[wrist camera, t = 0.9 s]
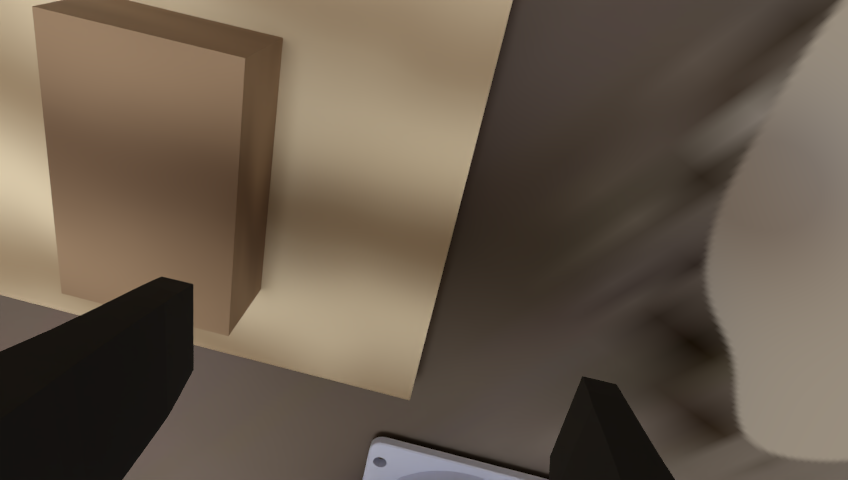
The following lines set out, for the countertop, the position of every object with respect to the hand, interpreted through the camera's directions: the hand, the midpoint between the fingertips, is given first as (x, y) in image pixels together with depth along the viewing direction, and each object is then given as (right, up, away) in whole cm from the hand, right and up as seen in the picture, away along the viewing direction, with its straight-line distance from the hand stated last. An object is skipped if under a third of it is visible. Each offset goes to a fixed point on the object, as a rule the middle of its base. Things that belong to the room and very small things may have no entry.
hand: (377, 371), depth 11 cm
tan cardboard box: (-6, +5, +7) cm, 10 cm away
